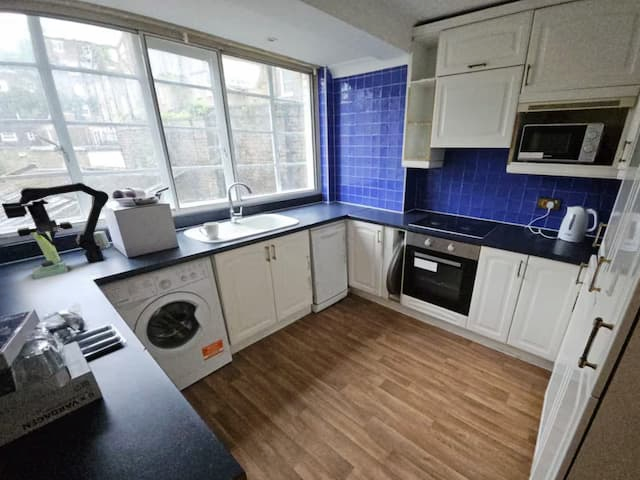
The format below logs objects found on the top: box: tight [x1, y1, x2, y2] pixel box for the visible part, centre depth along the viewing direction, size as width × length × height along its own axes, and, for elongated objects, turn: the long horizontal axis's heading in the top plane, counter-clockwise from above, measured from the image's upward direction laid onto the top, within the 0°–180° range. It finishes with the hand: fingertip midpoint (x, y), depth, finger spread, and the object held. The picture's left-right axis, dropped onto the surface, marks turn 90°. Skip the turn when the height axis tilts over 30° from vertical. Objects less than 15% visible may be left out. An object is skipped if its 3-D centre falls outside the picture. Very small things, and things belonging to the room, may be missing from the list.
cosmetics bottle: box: [94, 230, 111, 250], centre depth 180 cm, size 5×4×10 cm
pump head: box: [40, 260, 54, 267], centre depth 146 cm, size 4×4×2 cm
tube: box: [31, 231, 61, 263], centre depth 157 cm, size 6×5×20 cm
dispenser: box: [32, 262, 69, 280], centre depth 147 cm, size 12×10×4 cm
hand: (53, 245), depth 147 cm, fingers closed
